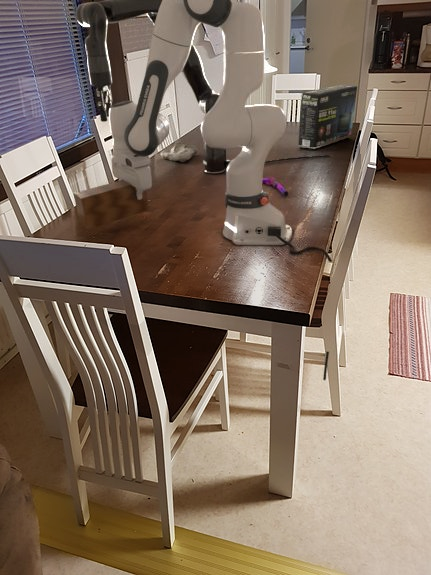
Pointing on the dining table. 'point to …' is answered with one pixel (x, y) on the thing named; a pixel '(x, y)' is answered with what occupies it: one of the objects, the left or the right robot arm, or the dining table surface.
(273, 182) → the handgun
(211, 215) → the dining table surface
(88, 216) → the box
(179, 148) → the fossil
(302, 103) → the router box
